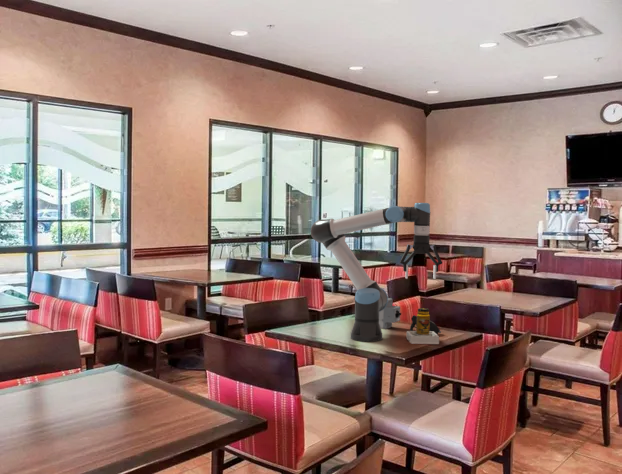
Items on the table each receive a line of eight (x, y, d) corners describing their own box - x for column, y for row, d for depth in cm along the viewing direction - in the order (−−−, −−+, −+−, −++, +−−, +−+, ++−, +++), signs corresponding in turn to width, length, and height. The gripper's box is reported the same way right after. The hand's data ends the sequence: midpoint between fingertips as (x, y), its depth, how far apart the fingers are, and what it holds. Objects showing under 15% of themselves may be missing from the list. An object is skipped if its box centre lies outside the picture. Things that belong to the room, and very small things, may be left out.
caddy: (410, 343, 271) (411, 336, 271) (406, 338, 283) (406, 330, 283) (438, 344, 272) (439, 336, 271) (433, 338, 284) (433, 331, 283)
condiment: (424, 336, 272) (425, 310, 271) (409, 333, 278) (410, 308, 277) (433, 334, 277) (433, 308, 277) (417, 331, 283) (418, 306, 282)
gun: (434, 345, 293) (443, 328, 293) (405, 330, 293) (415, 313, 293) (433, 344, 296) (442, 327, 296) (404, 329, 296) (414, 312, 296)
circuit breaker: (396, 330, 302) (397, 301, 302) (371, 327, 310) (372, 298, 309) (402, 328, 309) (403, 299, 308) (377, 325, 316) (378, 297, 316)
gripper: (397, 234, 280) (396, 279, 280) (449, 235, 280) (448, 279, 281) (394, 234, 287) (393, 277, 288) (445, 234, 287) (444, 278, 288)
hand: (420, 278), depth 284 cm, fingers open, 13 cm apart
